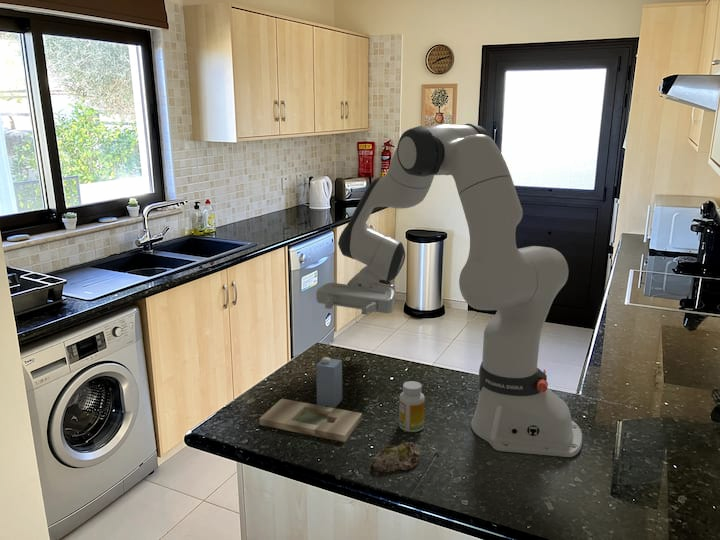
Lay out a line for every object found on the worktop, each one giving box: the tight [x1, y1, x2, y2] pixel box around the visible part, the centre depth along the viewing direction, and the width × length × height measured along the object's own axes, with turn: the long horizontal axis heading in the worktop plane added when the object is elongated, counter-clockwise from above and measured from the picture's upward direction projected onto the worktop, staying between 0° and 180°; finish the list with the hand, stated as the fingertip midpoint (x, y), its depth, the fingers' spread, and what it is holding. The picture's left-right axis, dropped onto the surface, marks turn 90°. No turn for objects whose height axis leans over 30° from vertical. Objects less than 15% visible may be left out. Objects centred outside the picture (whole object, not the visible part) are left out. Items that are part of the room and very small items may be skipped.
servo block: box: [315, 356, 343, 408], centre depth 135 cm, size 4×4×11 cm
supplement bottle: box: [398, 380, 426, 433], centre depth 124 cm, size 5×5×10 cm
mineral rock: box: [371, 441, 422, 473], centre depth 112 cm, size 11×4×8 cm
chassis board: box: [258, 398, 363, 443], centre depth 127 cm, size 20×10×2 cm, turn 69°
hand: (345, 308), depth 142 cm, fingers open, 8 cm apart
